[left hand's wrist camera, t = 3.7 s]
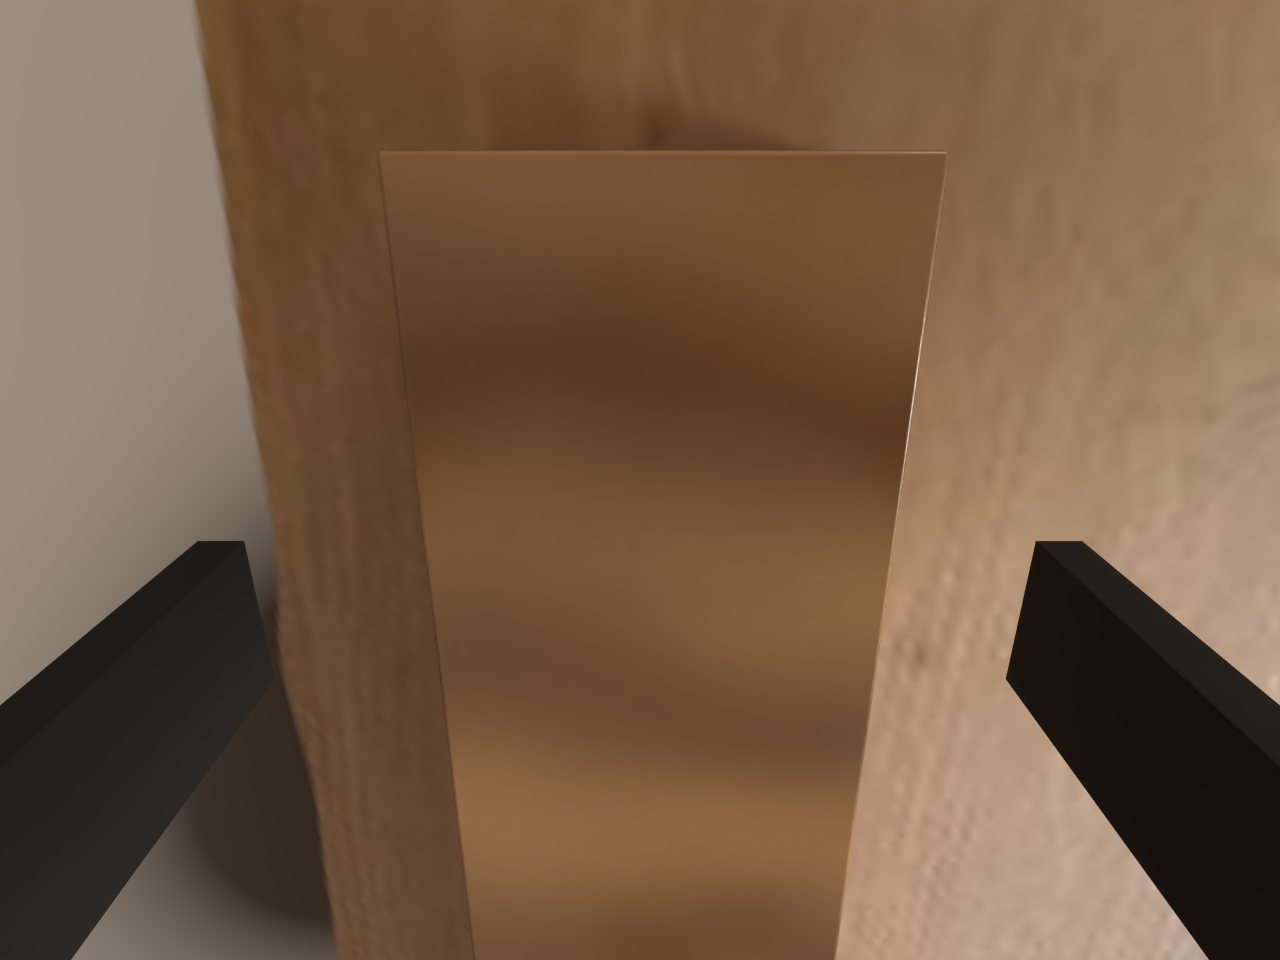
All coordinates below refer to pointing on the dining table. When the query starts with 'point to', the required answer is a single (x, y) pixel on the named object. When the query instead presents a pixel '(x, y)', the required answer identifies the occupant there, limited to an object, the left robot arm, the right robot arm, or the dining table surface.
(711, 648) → the long beam
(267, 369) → the dining table surface
